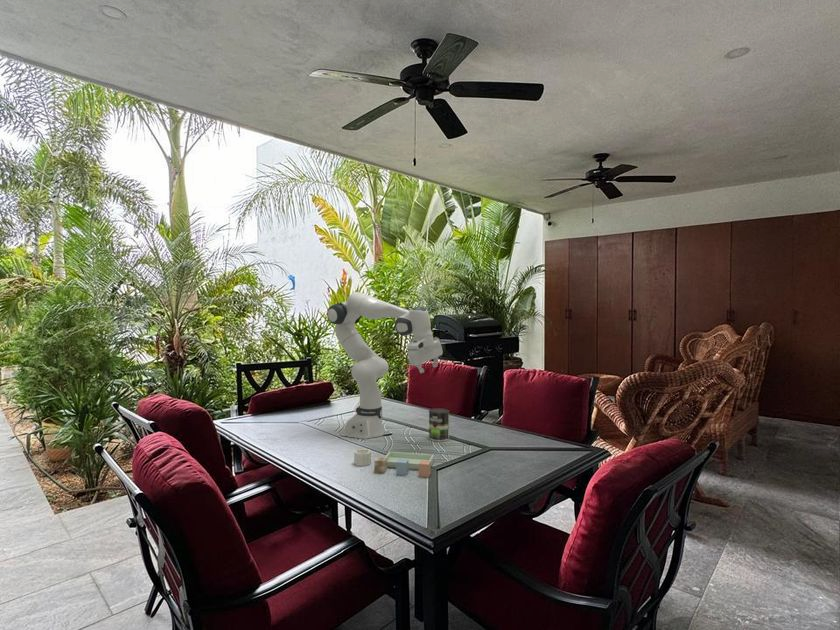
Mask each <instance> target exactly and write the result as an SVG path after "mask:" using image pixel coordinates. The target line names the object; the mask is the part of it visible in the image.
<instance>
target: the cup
mask: <svg viewBox="0 0 840 630" xmlns="http://www.w3.org/2000/svg"><path fill="white" fill-rule="evenodd" d="M353 453H354V454H353V457H354V458H353V459H354V462H353V463H354V465H355V466H356V467H366V466H370V465H371V464H372V450H370V449H369V448H360V449H355V451H354V452H353Z"/></svg>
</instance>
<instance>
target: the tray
mask: <svg viewBox="0 0 840 630" xmlns="http://www.w3.org/2000/svg"><path fill="white" fill-rule="evenodd" d="M383 458H387V469H396V462H397V461H398V459H409V471H419V462H420V461H421V460H424V461H431V467H432V466H433V464H434V462H435V454H427V453H425V454H424V453H413V452H398V451H388V452H387V454H385V456H384V457H383Z"/></svg>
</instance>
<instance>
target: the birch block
mask: <svg viewBox="0 0 840 630" xmlns="http://www.w3.org/2000/svg"><path fill="white" fill-rule="evenodd" d="M373 464H374V469H373V470H374V474H385V473H386V472H387V470H388V468H387V458H384V457H381V456H380V457H379V456H377V457H376V458H375V459H374V463H373Z"/></svg>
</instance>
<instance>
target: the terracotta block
mask: <svg viewBox="0 0 840 630" xmlns="http://www.w3.org/2000/svg"><path fill="white" fill-rule="evenodd" d="M431 468H432V466H431V461H424V460H421V461H420V462H419V470H418V477H422V478H430V475H431V473H432V472H431Z"/></svg>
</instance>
